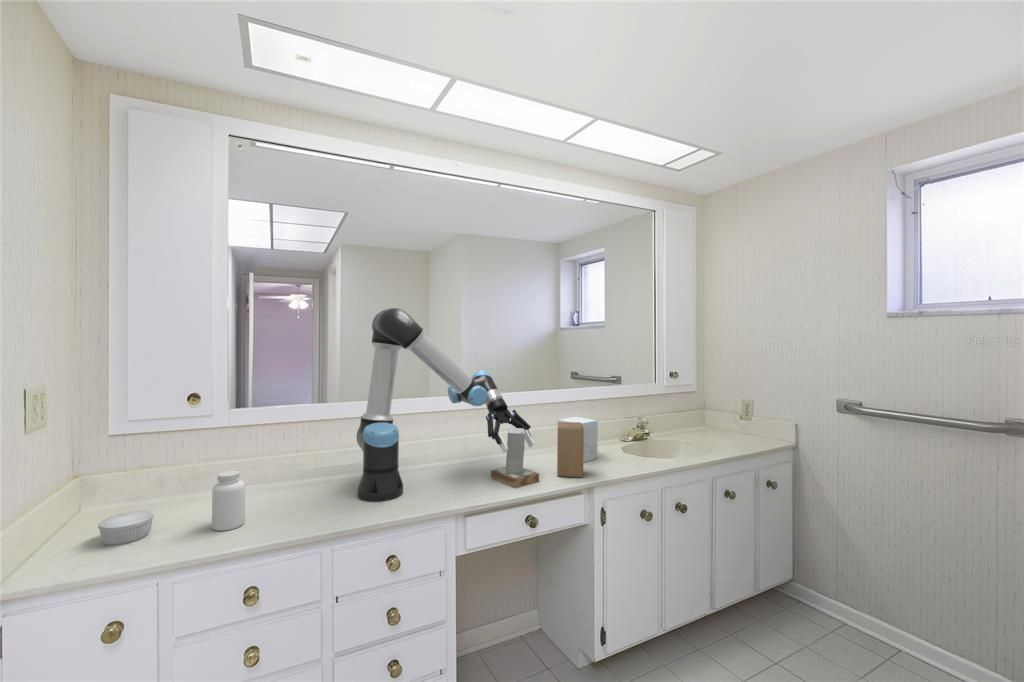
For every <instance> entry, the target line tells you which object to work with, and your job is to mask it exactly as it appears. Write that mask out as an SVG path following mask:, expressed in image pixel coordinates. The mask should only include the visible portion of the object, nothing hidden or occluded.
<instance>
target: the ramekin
mask: <svg viewBox="0 0 1024 682" xmlns="http://www.w3.org/2000/svg"><path fill="white" fill-rule="evenodd" d="M154 516H155V513H154V512H153V511H151V510H144V509H141V510H140V509H138V510H132V511H126V512H125V511H124V512H121V513H117V514H115V515H110V516H108V517H106V518H104V519H102V520H101V521H99V522H98V525H97V527H98V529H99V533H100V538H101V542H102V543H103V544H104V545H106V546H119V545H125V544H130V543H134V542H137V541H139V540H142V539H144V538H145V537H146V536H148V535H149V533H150V532H151V530H152V524H153V519H154Z"/></svg>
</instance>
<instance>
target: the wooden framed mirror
mask: <svg viewBox="0 0 1024 682" xmlns="http://www.w3.org/2000/svg"><path fill="white" fill-rule="evenodd" d="M490 473H491V474H490V479H491V480H494V481H496V482H499V483H501V484H503V485H506V486H509V487H511V488H514V489H515V488H519V487H523V486H528V485H531V484H534V483H538V482H539V481H540V473H539V472H536V471H534V470H531V469H527V468H524V467H523V473H522V474H506V466H505V467H500V468H496V469H492V470H490Z"/></svg>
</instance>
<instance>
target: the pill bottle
mask: <svg viewBox="0 0 1024 682" xmlns="http://www.w3.org/2000/svg"><path fill="white" fill-rule="evenodd" d="M240 476H241V472H240V471H239V470H225V471H223V472H219V473H218V474H217V482H218V483H216V484H215V485H214V486H213V487H212V490H211V491H212V493H211V501H212V502H211V503H212V504H211V505H212V506H211V526H212V530H214V531H216V532H223V531H230V530H234V529H237V528H240V527H242V526H243V525H244V524H245V521H246V489H247V488H246V483H245V481H244V480H242V479H241V477H240Z"/></svg>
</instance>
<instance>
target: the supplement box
mask: <svg viewBox="0 0 1024 682" xmlns="http://www.w3.org/2000/svg"><path fill="white" fill-rule="evenodd" d="M559 422H580V423H582V425H583V428H584V444H583V464H584V463H587V462H589V461H593V460H596V459H598V442H599V441H598V440H599V439H598V437H599V436H598V428H599V426H598V420H597V419H591V418H586V417H580V416H572V417H571V416H570V417H566V418H560V419H557V424H558V423H559ZM557 445H558V440H557ZM557 445H556V446H557Z"/></svg>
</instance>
